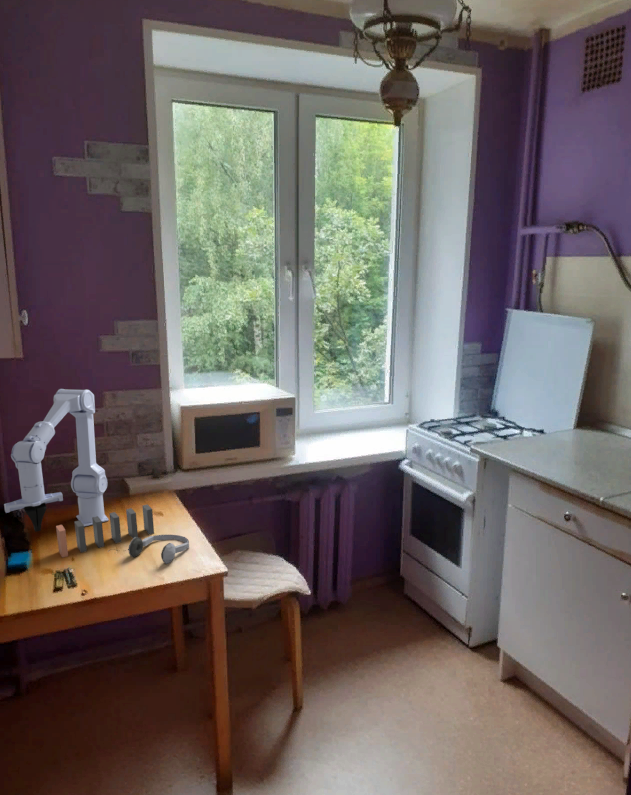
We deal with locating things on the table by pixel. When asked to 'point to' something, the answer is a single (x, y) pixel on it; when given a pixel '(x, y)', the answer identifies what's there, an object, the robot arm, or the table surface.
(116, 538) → the domino
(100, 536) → the domino
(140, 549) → the headphones
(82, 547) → the domino
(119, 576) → the table surface
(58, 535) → the domino
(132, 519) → the domino
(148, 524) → the domino
